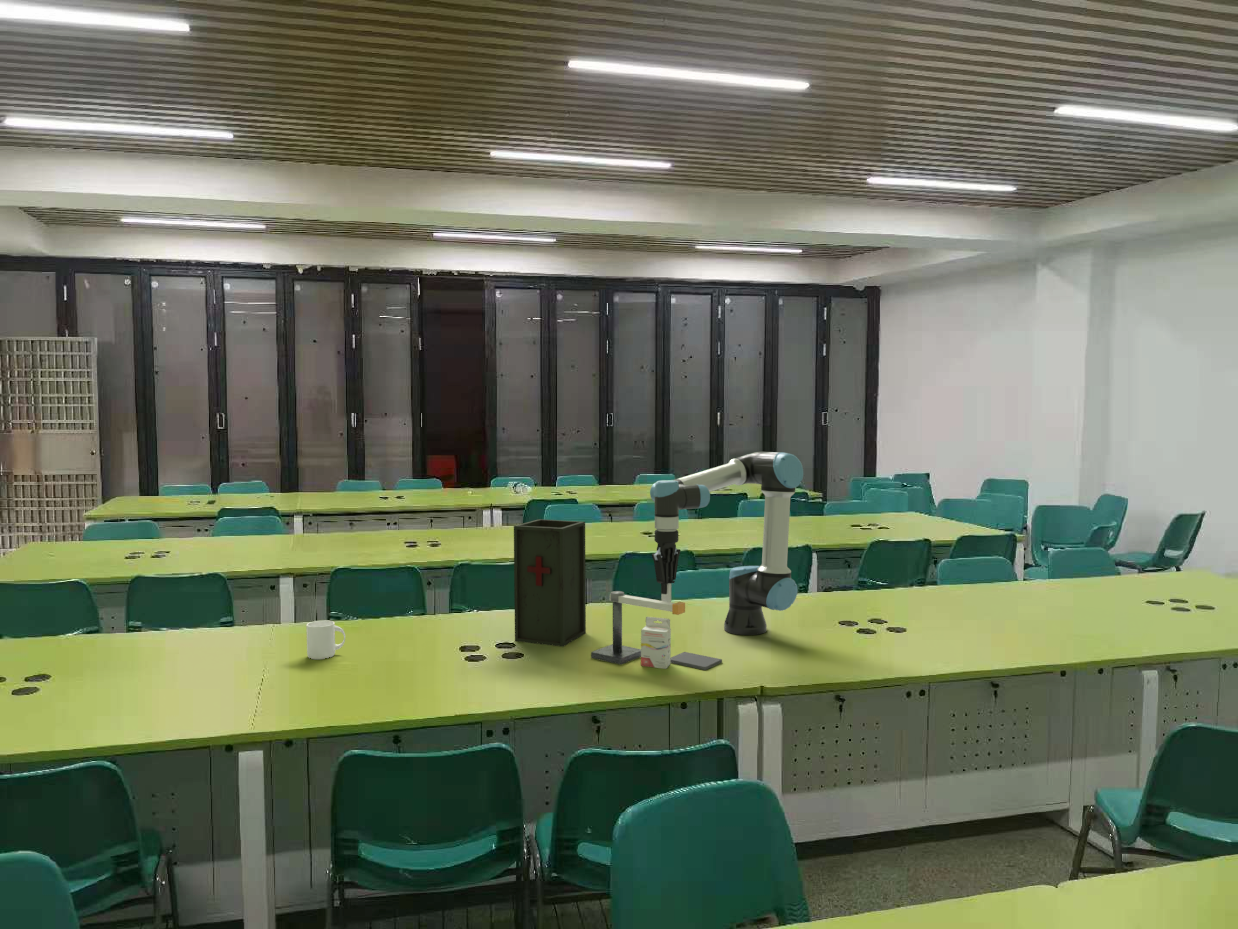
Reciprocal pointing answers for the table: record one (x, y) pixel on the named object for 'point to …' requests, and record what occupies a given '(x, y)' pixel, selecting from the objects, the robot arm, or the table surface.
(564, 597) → the first aid box
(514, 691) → the table surface
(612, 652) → the arm post
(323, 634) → the mug
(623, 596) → the bar
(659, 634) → the ink cartridge box
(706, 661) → the rubber mat
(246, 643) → the table surface
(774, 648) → the table surface
